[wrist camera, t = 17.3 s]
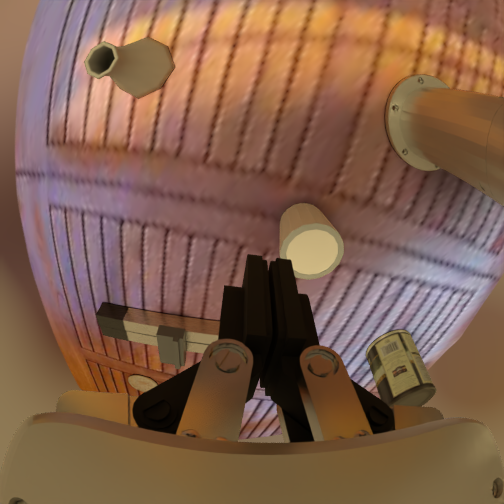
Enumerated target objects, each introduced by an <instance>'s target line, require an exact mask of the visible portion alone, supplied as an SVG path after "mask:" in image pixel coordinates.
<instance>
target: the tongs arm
mask: <svg viewBox="0 0 504 504" xmlns="http://www.w3.org/2000/svg"><path fill="white" fill-rule="evenodd" d="M96 317H97V320H98V323H99V325H101V326H105V327H109V328H114V329H118V330H123V331H125V330H126V331H131V332H136V333H141V334H147V335H152V336H156V334H157V331H158V327H159V325H164V326H170V327H176V328H183V329H185V338H186V341H189V342H197V343H204V344H211V343H212V342H214V341H217V340H218V335H219V326H220V321H213V320H205V319H197V318H190V317H182V316H176V315H169V314H163V313H156V312H150V311H144V310H139V309H133V308H129V307H124V306H118V305H113V304H108V303H102V305H101V306H100V308H99V310H98V312H97V314H96Z"/></svg>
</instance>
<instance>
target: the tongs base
mask: <svg viewBox="0 0 504 504" xmlns="http://www.w3.org/2000/svg"><path fill="white" fill-rule="evenodd" d="M100 327H101V330H102V333H103V335H105V336H109V337H114V338H118V339H122V340H127V341H128V340H130V341H134V342H139V343H144V344H149V345H155V346H158V343H157V336H152V335H147V334H141V333H136V332H131V331H126V330H125V331H123V330H118V329H114V328H109V327H105V326H101V325H100ZM208 345H210V344H204V343H197V342H189V341H186V351H191V352H198V353H204V351H205V350H206V348H207V346H208Z"/></svg>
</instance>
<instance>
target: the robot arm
mask: <svg viewBox="0 0 504 504" xmlns="http://www.w3.org/2000/svg"><path fill="white" fill-rule="evenodd" d="M392 106H393V109H392ZM385 122H386V130H387V134H388V137H389V140H390V142H391V145H392V147H393V148H394V150H395V151H396V153H397V154H398V155H399V156H400V158H401V159H402V160H404V161H405V162H406V163H407V164H409V165H411V166H413V167H414V168H417V169H419V170H423V171H434V170H438V169H441V168H442V169H444V170H445V171H447V172H449V173H451V174H453V175H454V176H456V177H458V178H460V179H461V180H463V181H465V182H466V183H468V184H470V185H471V186H473V187H475V188H476V189H478V190H479V191H481V192H482V193H484V194H486V195H487V196H489V197H490V198H492V199H493V200H494V201H496V202H497V203H499V204H500V205H502V206H503V207H504V97H500V96H495V95H489V94H484V93H478V92H471V91H464V90H457V89H450V88H449V87H448V86H447V85H446V84H445V83H444V82H442V81H441V80H439V79H437V78H435V77H433V76H429V75H412V76H408V77H406V78H404V79H402V80H401V81H400V82H399V83H398V84H397V85H396V86H395V87H394V89H393V90H392V92H391V94H390V96H389V98H388V101H387V105H386V112H385ZM402 151H403V152H402ZM259 378H260V387H261V388H265V396H271V400H272V401H274V402H275V403H276V404H277V413H278V417H279V422H280V426H281V430H282V434H283V438H284V443H251V442H250V443H249V442H238V438H239V433H240V428H241V423H242V418H243V413H244V408H245V403H247V402H248V401H249V400H251V399H252V398H253V395H254V392H255V389H256V387H257V384H258V381H259ZM0 504H504V467H503V464H502V460H501V456H500V453H499V450H498V447H497V445H496V442H495V440H494V437H493V435H492V434H491V431H490V430H489V428H488V427H487V426H486V425H485V424H484V423H482V422H480V421H478V420H474V419H469V418H461V417H457V418H447V419H444V418H443V415H442V414H441V412H440V411H439V410H437V409H436V408H433V407H418V406H402V405H393V406H392V407H389V406H388V405H387V404H386V403H385V402H383V401H382V400H380V399H379V398H377V397H376V396H374V395H373V394H372V393H370V392H369V391H367V390H366V389H364V388H363V387H361V386H360V385H358V384H357V383H356V382H354V381H353V380H351V379H350V377H349V375H348V372H347V370H346V368H345V365H344V363H343V361H342V359H341V358H340V356H339V355H338V354H337V353H336V352H335V351H334V350H332V349H330V348H328V347H325V346H320V345H319V341H318V336H317V332H316V327H315V323H314V318H313V314H312V310H311V306H310V301H309V298H308V295H307V294H298V290H297V285H296V280H295V275H294V271H293V266H292V261H291V260H290V259H282V258H276V261H271V262H270V266H269V270H268V265H267V260H262V256H258V255H250V254H248V255H247V261H246V267H245V273H244V279H243V285H242V287H233V286H225V285H224V293H223V301H222V309H221V318H220V326H219V335H218V340H217V341H214V342H212V343H211V344H210V345H208V346H207V348H206V350H205V351H204V354H203V357H202V360H201V361H200V362H199V363H197V364H195V365H193V366H192V367H190V368H188V369H186V370H185V371H183V372H181V373H179V374H178V375H176V376H174V377H172V378H170V379H169V380H167V381H165V382H163V383H161V384H159V385H158V386H156V387H154V388H152V389H150V390H148V391H146V392H144V393H143V394H141V395H140V396H129V395H128V394H126V393H105V392H91V391H80V390H69V391H67V392H65V393H63V394H62V395H61V396H60V397H59V399H58V402H57V406H56V412H48V413H41V414H35V415H32V416H30V417H28V418H27V419H25V420H24V421H23V422H22V423H21V424H20V426H19V427H18V428H17V430H16V432H15V434H14V436H13V438H12V440H11V442H10V444H9V446H8V449H7V452H6V454H5V457H4V460H3V464H2V467H1V471H0Z"/></svg>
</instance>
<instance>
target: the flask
mask: <svg viewBox="0 0 504 504" xmlns="http://www.w3.org/2000/svg"><path fill="white" fill-rule="evenodd" d="M84 63H85V67H86V70H87V73H88V74H89V75H91V76H93V77H95V78H97V79H100V78H102V77H104V76H110V77H111V78H112V79H113V81H114V82H115V83H116V84H117V86H118V87H119V88H120V89H122V90H123V91H125V92H127V93H129V94H131V95H132V96H134V97H136V98H138V99H139V98H141V97H143V96H145V95H147V94H149V93H151V92H154V91H156V90H158V89H160V88H161V87H162V85H163V84H164V82H165V81H166V80H167V78H168V77H169V75H170V74H171V72H172V71H173V69H174V68H175V66H174V63H173V60H172V57H171V54H170V52H169V49H168V46H166V45H164V44H162V43H160V42H158V41H156V40H154V39H151V38H149V37H147V38H144V39H141V40H139V41H136V42H134V43H131V44H128V45H125V46H121V47H116V46H114V45H112V44H110V43H107V42H105V41H104V42H102V43H100V44H99V45H97V46H96V47H94V48H92V49H91V51H90V53H89V54H88V56H87V58H86V60H85V61H84Z"/></svg>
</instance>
